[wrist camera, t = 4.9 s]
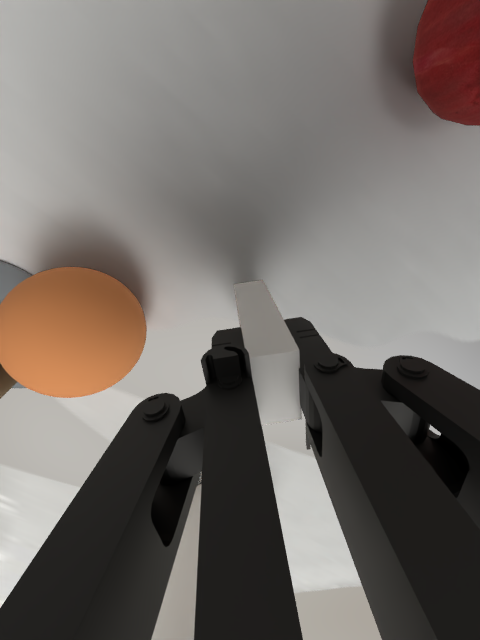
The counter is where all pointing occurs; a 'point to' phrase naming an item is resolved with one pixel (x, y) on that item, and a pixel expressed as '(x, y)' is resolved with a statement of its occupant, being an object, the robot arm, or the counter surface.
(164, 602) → the foam cup
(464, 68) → the onion
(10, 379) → the pin
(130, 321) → the ball
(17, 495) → the counter surface
